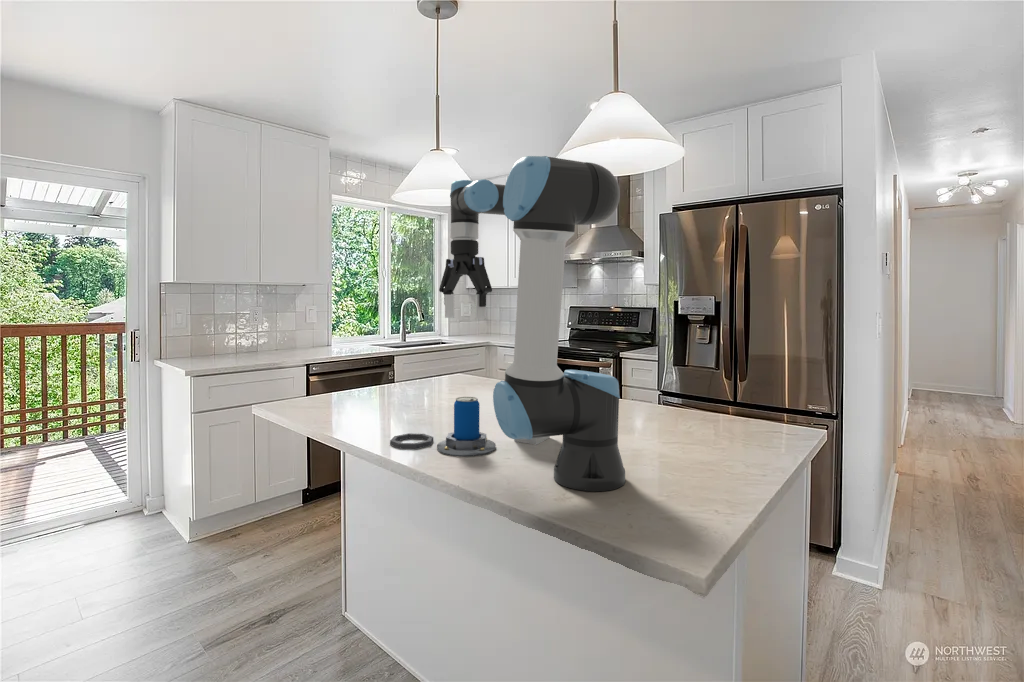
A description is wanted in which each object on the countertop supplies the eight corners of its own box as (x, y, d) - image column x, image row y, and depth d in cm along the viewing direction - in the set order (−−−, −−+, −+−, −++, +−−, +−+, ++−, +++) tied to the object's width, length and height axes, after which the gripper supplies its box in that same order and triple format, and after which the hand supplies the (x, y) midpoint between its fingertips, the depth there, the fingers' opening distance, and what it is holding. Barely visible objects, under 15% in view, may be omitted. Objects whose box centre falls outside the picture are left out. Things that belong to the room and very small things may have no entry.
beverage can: (482, 447, 135) (482, 400, 134) (457, 449, 133) (457, 401, 132) (475, 440, 141) (475, 395, 140) (451, 442, 139) (451, 397, 138)
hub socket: (507, 448, 137) (507, 436, 137) (461, 460, 127) (461, 447, 126) (471, 437, 148) (471, 425, 147) (425, 447, 138) (425, 434, 137)
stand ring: (440, 443, 141) (440, 439, 141) (405, 451, 134) (405, 446, 134) (418, 435, 149) (418, 431, 149) (384, 442, 141) (384, 438, 141)
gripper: (505, 237, 138) (505, 319, 140) (448, 244, 156) (448, 316, 158) (483, 235, 133) (483, 320, 135) (426, 242, 151) (427, 317, 153)
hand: (464, 318), depth 147 cm, fingers open, 13 cm apart
